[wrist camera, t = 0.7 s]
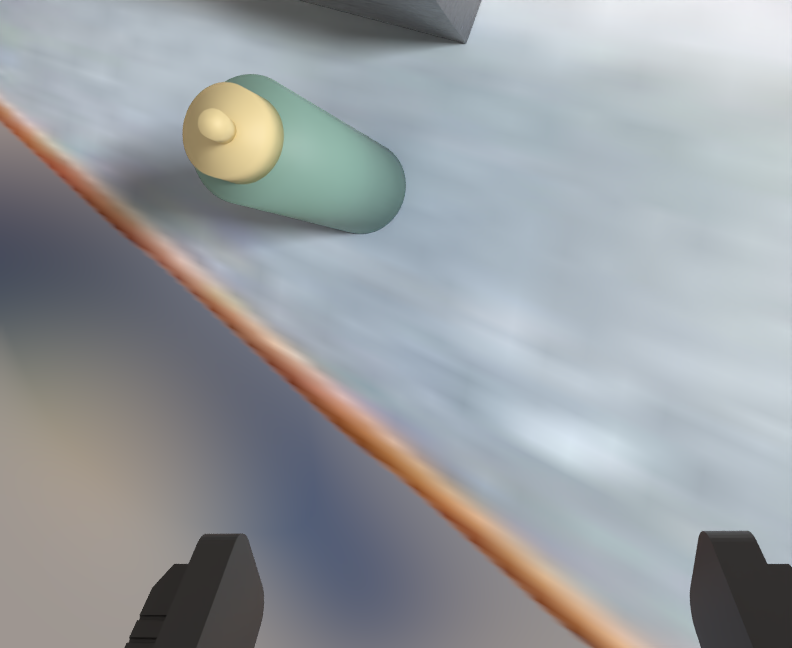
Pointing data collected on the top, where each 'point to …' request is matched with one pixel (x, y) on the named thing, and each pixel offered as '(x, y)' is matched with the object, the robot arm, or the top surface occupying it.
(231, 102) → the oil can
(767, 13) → the top surface
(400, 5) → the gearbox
